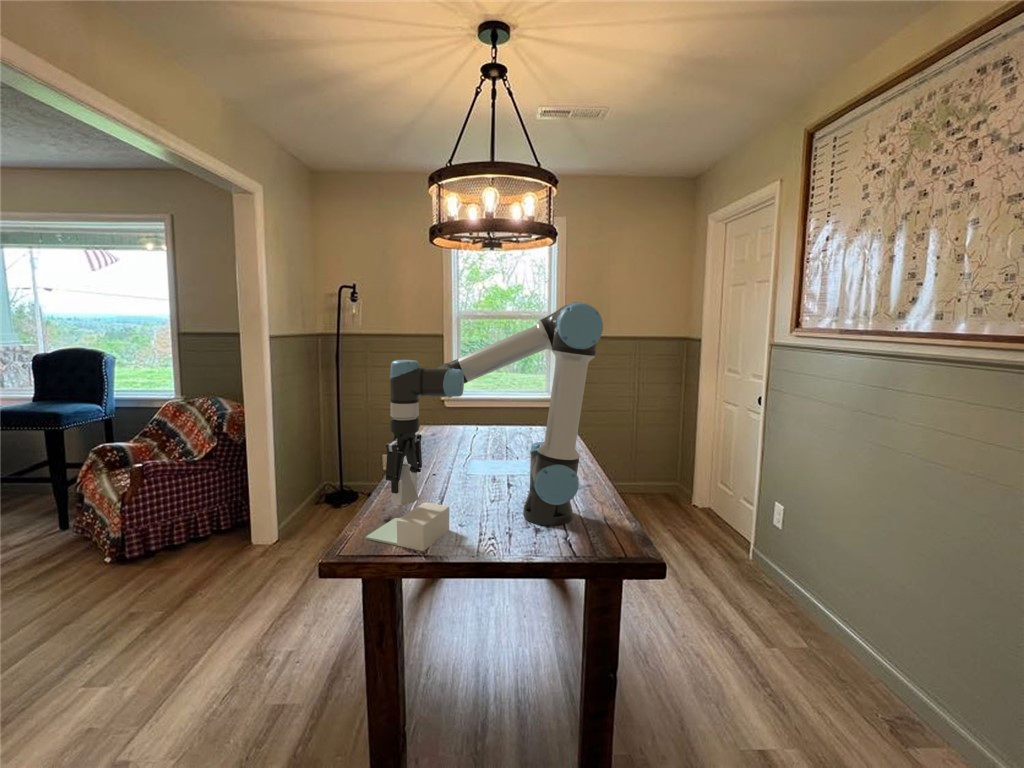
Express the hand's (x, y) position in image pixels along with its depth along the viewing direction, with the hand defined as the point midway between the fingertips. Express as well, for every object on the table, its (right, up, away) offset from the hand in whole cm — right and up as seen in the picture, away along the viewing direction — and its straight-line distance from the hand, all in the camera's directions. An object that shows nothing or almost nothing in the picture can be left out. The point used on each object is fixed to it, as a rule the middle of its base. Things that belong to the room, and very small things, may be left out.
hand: (404, 499), depth 133 cm
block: (+6, -10, -1) cm, 12 cm away
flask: (0, -1, 0) cm, 1 cm away
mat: (-3, -10, +2) cm, 10 cm away
